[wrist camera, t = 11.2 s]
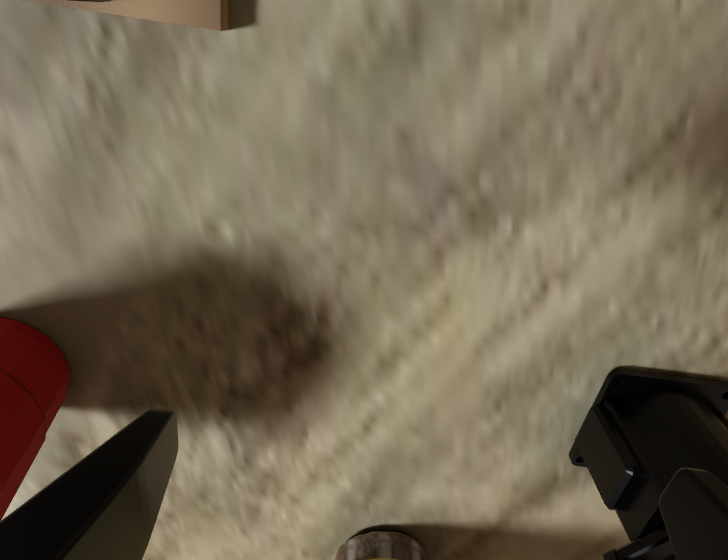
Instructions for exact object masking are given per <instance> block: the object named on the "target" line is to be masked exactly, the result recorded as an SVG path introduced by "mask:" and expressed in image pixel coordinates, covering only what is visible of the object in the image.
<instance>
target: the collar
mask: <svg viewBox="0 0 728 560" xmlns="http://www.w3.org/2000/svg"><path fill="white" fill-rule="evenodd" d="M24 1H30V2H37V3H43V4H50V5H56V6H63V7H69V8H76V9H82V10H89V11H95V12H102V13H108V14H115V15H121V16H128V17H134V18H141V19H147V20H154V21H160V22H167V23H173V24H180V25H186V26H193V27H199V28H206V29H212V30H219V31H223V30H228V7H229V0H24Z"/></svg>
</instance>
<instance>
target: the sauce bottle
mask: <svg viewBox="0 0 728 560" xmlns="http://www.w3.org/2000/svg"><path fill="white" fill-rule="evenodd" d="M335 560H427V556H426V553H425V550H424V548H423V547H422V545H421V544H420V543H418V542H417V541H416V540H415V539H413V538H411V537H409V536H407V535H404V534H401V533H398V532H392V531H391V532H377V531H376V532H370V533H365V534H362V535H357V536H355V537H353V538H351V539H349V540H348V541H347V542H345V543H344V544H343V545H342V546H341V547H340V548H339V550H338V552H337V555H336V558H335Z"/></svg>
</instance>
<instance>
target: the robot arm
mask: <svg viewBox="0 0 728 560" xmlns="http://www.w3.org/2000/svg"><path fill="white" fill-rule="evenodd" d="M618 379H620V380H618ZM616 380H618V381H616ZM727 411H728V382H720V381H712V380H704V379H696V378H688V377H680V376H672V375H664V374H655V373H647V372H639V371H631V370H623V369H616V370H613V371H611V372H610V373H609V374H608V375H607V377H606V379H605V381H604V383H603V385H602V387H601V389H600V391H599V393H598V395H597V397H596V399H595V401H594V403H593V405H592V407H591V408H590V410H589V412H588V414H587V416H586V418H585V420H584V422H583V424H582V426H581V429H580V431H579V433H578V435H577V437H576V439H575V442H574V444H573V446H572V448H571V450H570V452H569V458H570V460H571V462H572V464H573V465H575V466H581V467H587V468H588V470H589V472H590V474H591V476H592V478H593V480H594V482H595V485H596V487H597V489H598V491H599V493H600V495H601V497H602V499H603V501H604V504H605V505H606V506H607V508H608V509H610V510H615V511H616V513H617V515H618V517H619V519H620V521H621V523H622V525H623V527H624V529H625V531H626V533H627V535H628V537H629V539H630V541H631V542H630V543H628V544H626V545H624V546H623V547H621V548H619V549H617V550H616V549H614V548H613V549H611V550H610V551H608V552H606V553H604V554H603V556H604V560H728V420H727V419H726V417H725V416H724V415H725V414H726V412H727ZM177 452H178V431H177V418H176V414H175V412H174V411H172V410H164V409H155V408H152V409H149V410H147V411H146V412H144V413H143V414H142V415H140V416H139V417H138V418H136V419H135V420H134V421H132V422H131V423H130V424H128V425H127V426H126V427H124V428H123V429H122V430H121V431H119V432H118V433H117V434H115V435H114V436H113V437H111V438H110V439H109V440H107V441H106V442H105V443H103V444H102V445H101V446H99V447H98V448H97V449H95V450H94V451H93V452H91V453H90V454H89V455H87V456H86V457H85V458H83V459H82V460H81V461H80V462H78V463H77V464H76V465H74V466H73V467H72V468H70V469H69V470H68V471H66V472H65V473H64V474H62V475H61V476H60V477H58V478H57V479H56V480H54V481H53V482H52V483H50V484H49V485H48V486H46V487H45V488H44V489H42V490H41V491H40V492H38V493H37V494H36V495H35V496H33V497H32V498H31V499H29V500H28V501H27V502H25V503H24V504H23V505H21V506H20V507H19V508H17V509H16V510H15V511H13V512H12V513H11V514H9V515H8V516H7V517H5V518H4V519H3V520H1V521H0V560H142V558H143V556H144V553H145V551H146V548H147V546H148V543H149V540H150V537H151V534H152V531H153V528H154V525H155V522H156V519H157V516H158V513H159V510H160V506H161V503H162V500H163V497H164V494H165V491H166V488H167V485H168V482H169V479H170V476H171V472H172V469H173V466H174V463H175V460H176V457H177Z"/></svg>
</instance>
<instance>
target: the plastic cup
mask: <svg viewBox="0 0 728 560" xmlns="http://www.w3.org/2000/svg"><path fill="white" fill-rule="evenodd" d="M69 385H70V367H69V365H68V363H67V361H66V359H65V357H64V355H63V353H62V351H61V350H60V349H59V348H58V347H57V346H56V345H55V344H54V343H53V342H52V341H51V340H50V339H49V338H48V337H47V336H46V335H45V334H43V333H41V332H39V331H38V330H36V329H34V328H32V327H30V326H29V325H27V324H25V323H23V322H19V321H15V320H11V319H7V318H3V317H0V521H1V519H2V518H3V516H4V514H5V512H6V510H7V508H8V507H9V505H10V503H11V501H12V499H13V497H14V496H15V494H16V492H17V490H18V488H19V487H20V485H21V483H22V481H23V479H24V477H25V476H26V474H27V472H28V470H29V468H30V466H31V465H32V463H33V461H34V459H35V457H36V455H37V454H38V452H39V450H40V448H41V446H42V444H43V443H44V441H45V434H46V432H47V430H48V429H49V427H50V425H51V423H52V421H53V419H54V418H55V416H56V414H57V412H58V410H59V408H60V406H61V405H62V403H63V401H64V399H65V397H66V395H67V389H68V387H69Z"/></svg>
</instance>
